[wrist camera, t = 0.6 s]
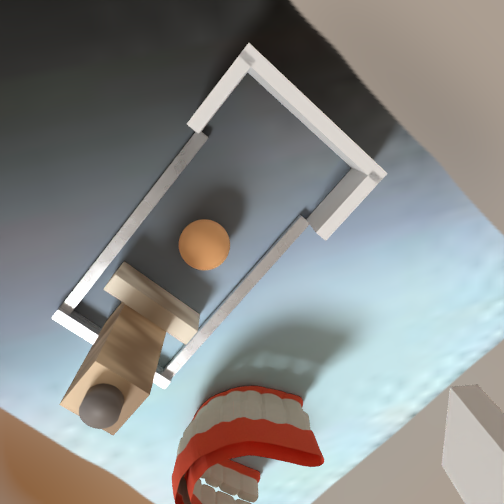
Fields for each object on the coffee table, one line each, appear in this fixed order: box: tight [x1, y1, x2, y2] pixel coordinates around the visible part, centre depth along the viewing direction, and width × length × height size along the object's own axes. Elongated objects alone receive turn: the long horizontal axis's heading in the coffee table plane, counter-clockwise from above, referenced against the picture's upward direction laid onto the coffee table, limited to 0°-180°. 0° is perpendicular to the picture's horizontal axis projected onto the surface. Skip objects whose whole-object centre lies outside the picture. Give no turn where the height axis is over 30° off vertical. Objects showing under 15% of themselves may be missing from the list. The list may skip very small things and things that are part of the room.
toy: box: [172, 386, 324, 504], centre depth 37 cm, size 12×10×8 cm
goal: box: [187, 43, 387, 241], centre depth 31 cm, size 13×6×4 cm, turn 50°
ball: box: [179, 219, 230, 270], centre depth 33 cm, size 4×4×4 cm
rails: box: [52, 131, 309, 389], centre depth 35 cm, size 12×20×1 cm, turn 140°
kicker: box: [59, 261, 200, 435], centre depth 31 cm, size 8×6×12 cm
